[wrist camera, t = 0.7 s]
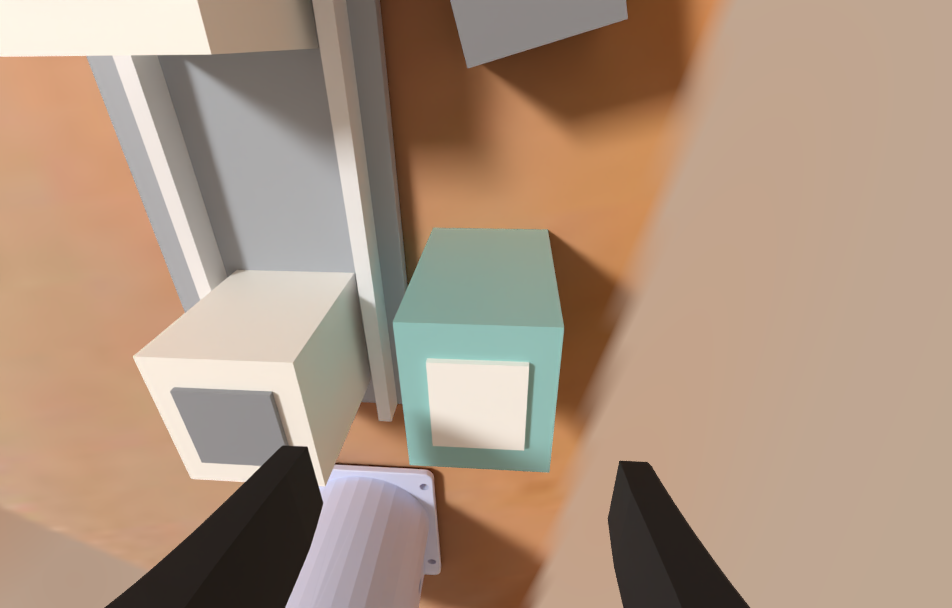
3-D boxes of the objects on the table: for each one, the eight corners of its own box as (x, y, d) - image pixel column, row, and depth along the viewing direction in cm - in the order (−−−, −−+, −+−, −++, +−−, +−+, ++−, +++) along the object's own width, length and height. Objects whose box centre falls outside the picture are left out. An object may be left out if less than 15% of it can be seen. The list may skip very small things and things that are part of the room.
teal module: (539, 345, 21) (549, 477, 14) (440, 341, 21) (408, 469, 15) (547, 229, 18) (564, 331, 12) (433, 227, 18) (390, 326, 12)
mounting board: (418, 395, 23) (383, 521, 17) (223, 387, 23) (125, 505, 17) (353, -272, 12) (187, -588, 6) (-13, -249, 12) (-497, -511, 6)
